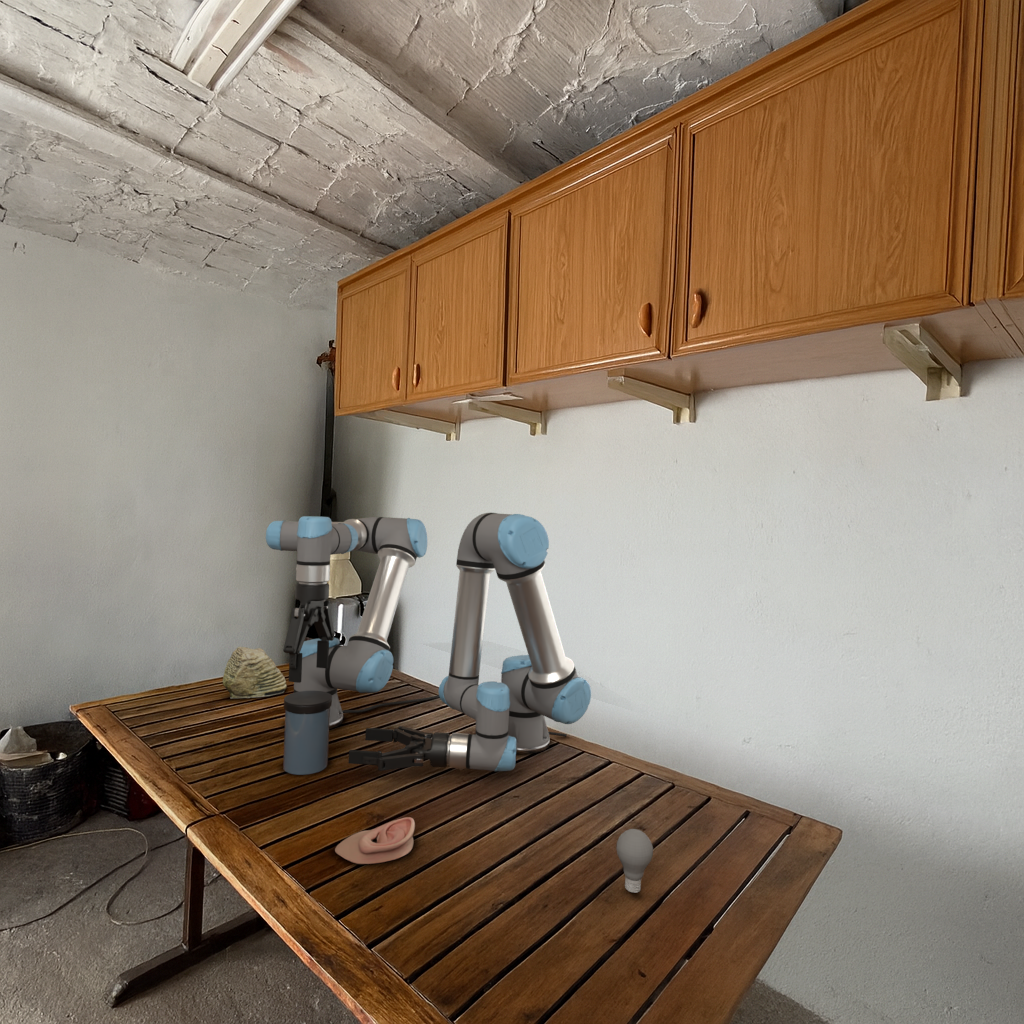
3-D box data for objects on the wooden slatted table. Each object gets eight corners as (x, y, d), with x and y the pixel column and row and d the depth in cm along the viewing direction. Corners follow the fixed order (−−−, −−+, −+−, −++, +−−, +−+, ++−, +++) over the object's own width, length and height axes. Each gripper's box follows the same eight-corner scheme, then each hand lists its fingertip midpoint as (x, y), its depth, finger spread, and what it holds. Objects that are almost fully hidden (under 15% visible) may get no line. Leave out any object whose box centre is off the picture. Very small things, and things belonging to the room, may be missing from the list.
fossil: (218, 695, 195) (220, 647, 195) (278, 685, 208) (279, 640, 207) (228, 703, 189) (230, 653, 188) (289, 692, 201) (290, 645, 201)
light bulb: (610, 879, 108) (613, 822, 108) (644, 879, 109) (647, 822, 109) (619, 902, 102) (622, 840, 102) (655, 901, 103) (658, 840, 103)
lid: (323, 714, 143) (323, 705, 143) (276, 712, 143) (276, 703, 143) (337, 699, 154) (337, 691, 154) (293, 697, 154) (293, 689, 154)
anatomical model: (327, 836, 111) (356, 806, 122) (326, 858, 111) (355, 826, 122) (398, 848, 108) (421, 815, 119) (397, 871, 108) (420, 836, 119)
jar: (320, 775, 144) (322, 707, 143) (276, 773, 144) (278, 705, 143) (333, 758, 154) (335, 693, 153) (292, 756, 154) (294, 691, 153)
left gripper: (322, 575, 160) (319, 660, 161) (268, 587, 137) (265, 687, 137) (350, 577, 159) (347, 663, 159) (300, 590, 135) (296, 690, 136)
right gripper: (440, 791, 133) (340, 785, 134) (455, 745, 158) (371, 740, 159) (441, 755, 133) (341, 749, 134) (456, 715, 158) (372, 710, 159)
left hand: (309, 674), depth 148 cm, fingers open, 12 cm apart
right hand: (357, 744), depth 146 cm, fingers open, 13 cm apart
